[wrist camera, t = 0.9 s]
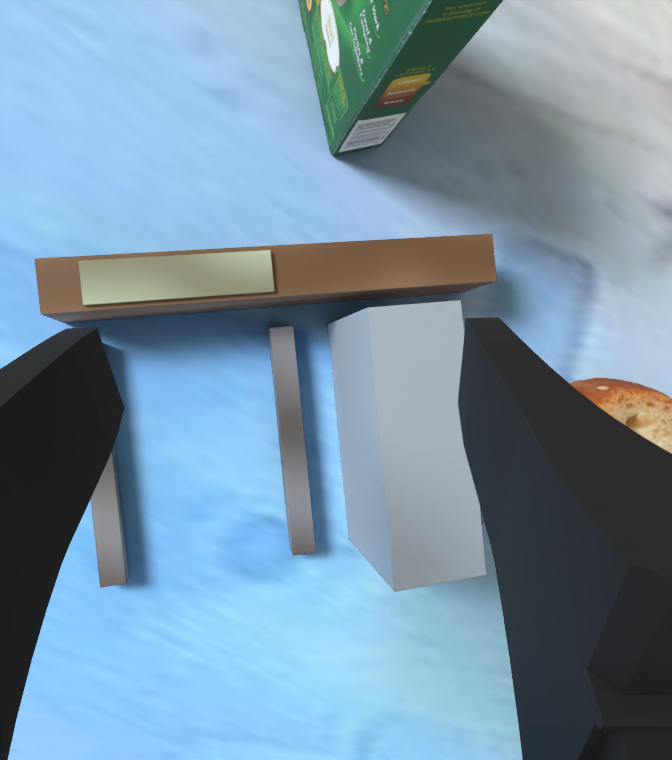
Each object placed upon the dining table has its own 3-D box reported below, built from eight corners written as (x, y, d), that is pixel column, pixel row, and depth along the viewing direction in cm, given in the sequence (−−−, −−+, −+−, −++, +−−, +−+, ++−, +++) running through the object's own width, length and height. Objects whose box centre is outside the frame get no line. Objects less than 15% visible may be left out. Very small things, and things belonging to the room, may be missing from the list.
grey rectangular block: (423, 526, 29) (491, 573, 22) (348, 538, 28) (394, 591, 21) (403, 318, 28) (465, 299, 22) (327, 324, 28) (367, 307, 21)
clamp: (482, 517, 29) (522, 537, 26) (92, 581, 25) (72, 615, 22) (458, 251, 29) (494, 232, 25) (57, 274, 25) (33, 257, 21)
